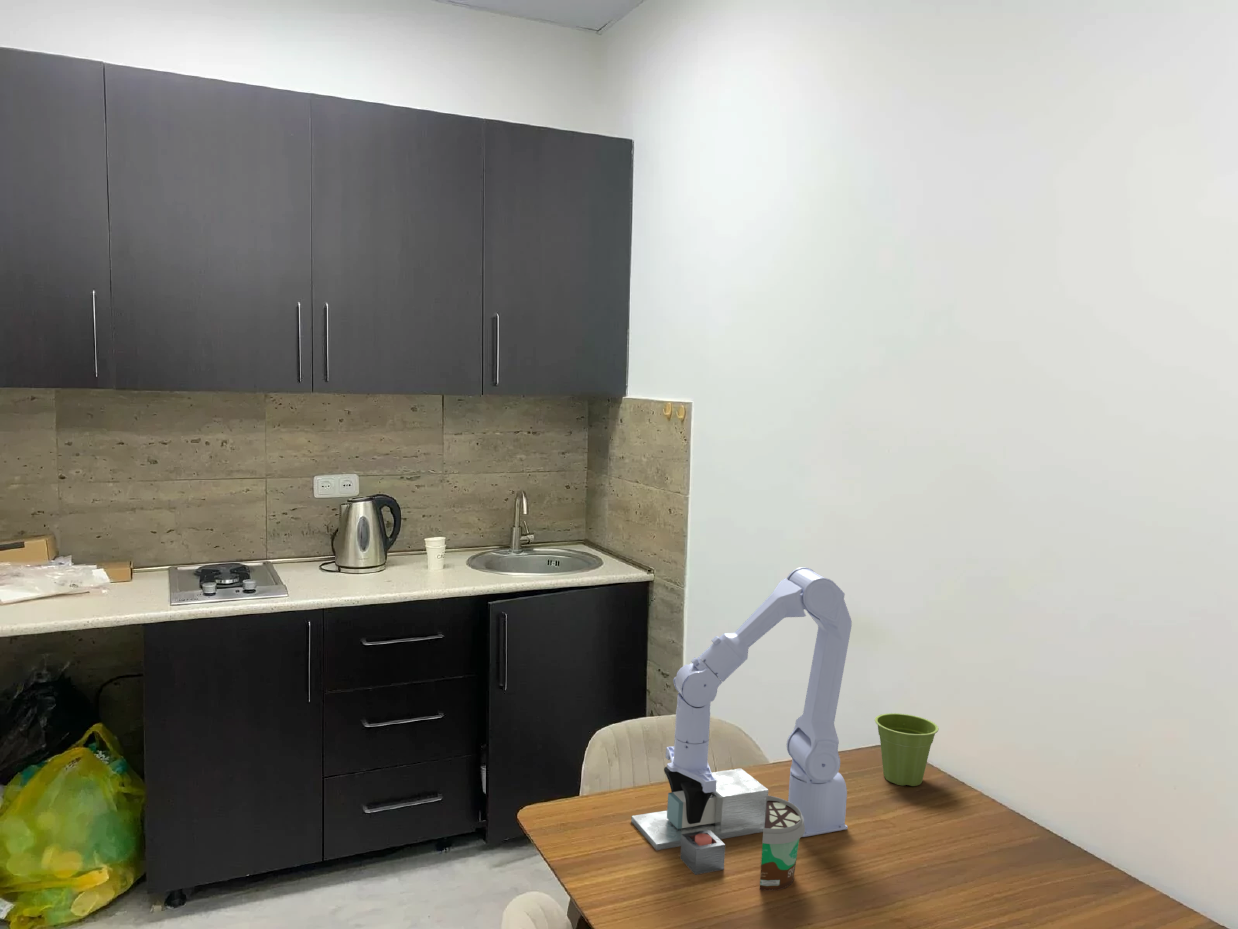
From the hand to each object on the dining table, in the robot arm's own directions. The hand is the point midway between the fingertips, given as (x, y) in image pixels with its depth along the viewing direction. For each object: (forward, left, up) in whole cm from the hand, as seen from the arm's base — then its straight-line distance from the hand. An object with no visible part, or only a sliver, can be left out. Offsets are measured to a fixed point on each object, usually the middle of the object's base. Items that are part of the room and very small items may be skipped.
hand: (687, 815), depth 151 cm
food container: (-7, +18, -2) cm, 19 cm away
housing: (-3, 0, -2) cm, 3 cm away
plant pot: (-50, -5, -2) cm, 50 cm away
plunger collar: (+3, +11, -2) cm, 12 cm away
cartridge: (-4, 0, -1) cm, 4 cm away
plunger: (+3, +11, -2) cm, 12 cm away
